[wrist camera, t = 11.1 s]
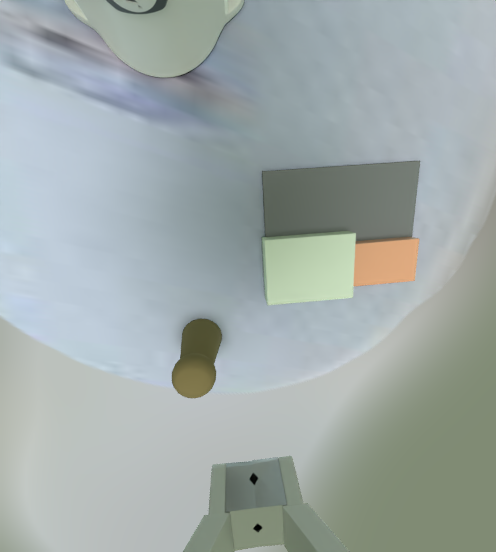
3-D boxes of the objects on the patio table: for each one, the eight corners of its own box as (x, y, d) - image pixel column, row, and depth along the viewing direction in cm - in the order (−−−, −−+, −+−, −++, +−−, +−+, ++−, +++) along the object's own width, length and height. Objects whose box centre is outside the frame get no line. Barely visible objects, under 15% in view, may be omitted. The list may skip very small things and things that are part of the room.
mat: (262, 171, 34) (262, 171, 34) (418, 161, 35) (420, 160, 35) (267, 287, 39) (268, 288, 38) (405, 275, 40) (407, 276, 39)
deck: (261, 237, 37) (264, 240, 34) (346, 230, 37) (355, 233, 34) (265, 297, 39) (267, 305, 36) (343, 290, 40) (352, 297, 37)
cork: (229, 330, 40) (229, 376, 30) (209, 360, 42) (202, 414, 31) (194, 311, 39) (181, 353, 29) (174, 342, 40) (155, 393, 30)
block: (347, 241, 37) (354, 244, 35) (409, 236, 38) (419, 238, 36) (346, 282, 39) (352, 286, 37) (405, 276, 39) (414, 280, 37)
